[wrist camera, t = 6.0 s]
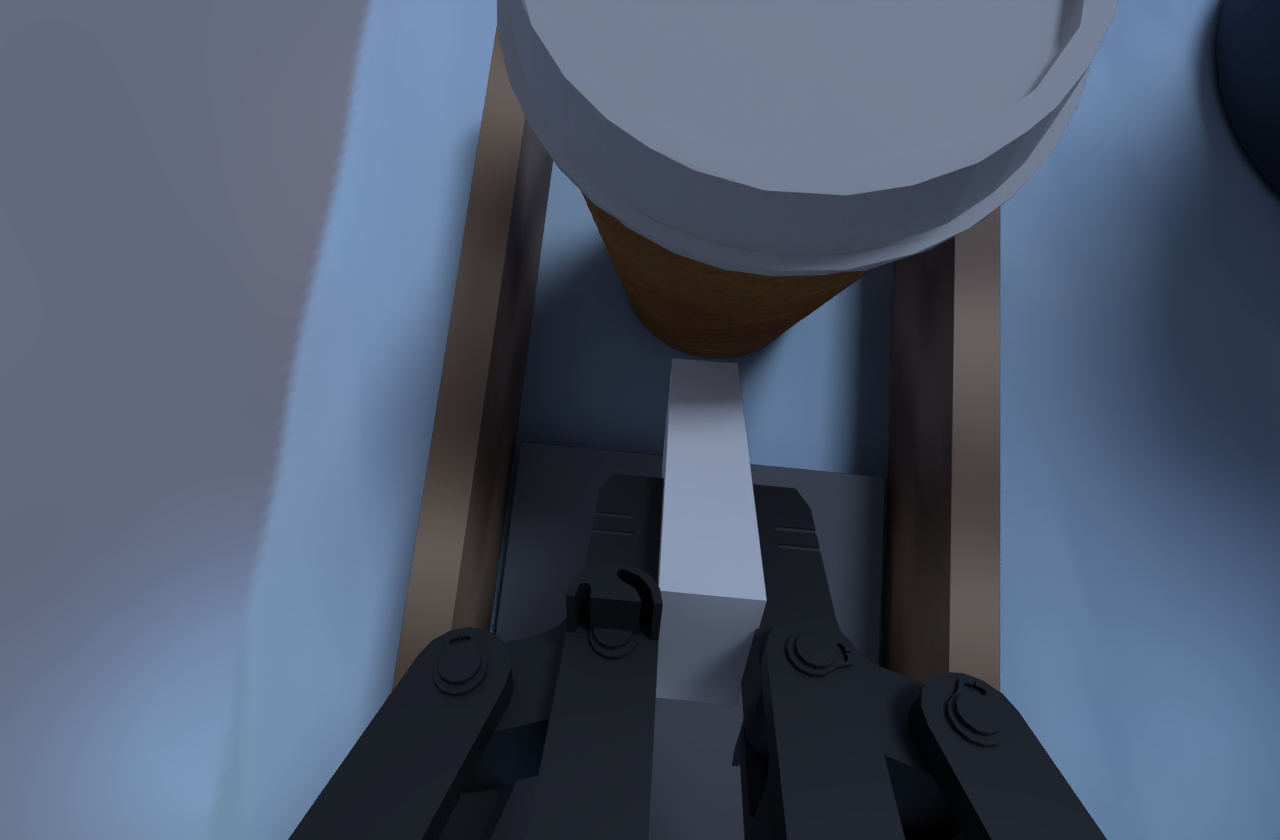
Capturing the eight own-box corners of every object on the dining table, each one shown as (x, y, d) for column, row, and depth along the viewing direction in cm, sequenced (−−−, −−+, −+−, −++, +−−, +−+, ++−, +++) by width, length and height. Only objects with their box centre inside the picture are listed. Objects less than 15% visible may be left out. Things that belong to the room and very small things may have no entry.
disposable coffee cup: (561, 159, 21) (450, -315, 9) (829, 126, 21) (1069, -385, 9) (591, 424, 19) (503, 274, 7) (881, 387, 19) (1251, 183, 8)
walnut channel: (528, 94, 21) (501, -3, 17) (933, 127, 21) (1000, 35, 17) (413, 890, 17) (343, 1002, 13) (916, 949, 17) (999, 1083, 13)
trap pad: (526, 445, 19) (521, 441, 18) (874, 479, 19) (884, 477, 18) (474, 837, 17) (466, 853, 16) (860, 882, 17) (871, 900, 16)
